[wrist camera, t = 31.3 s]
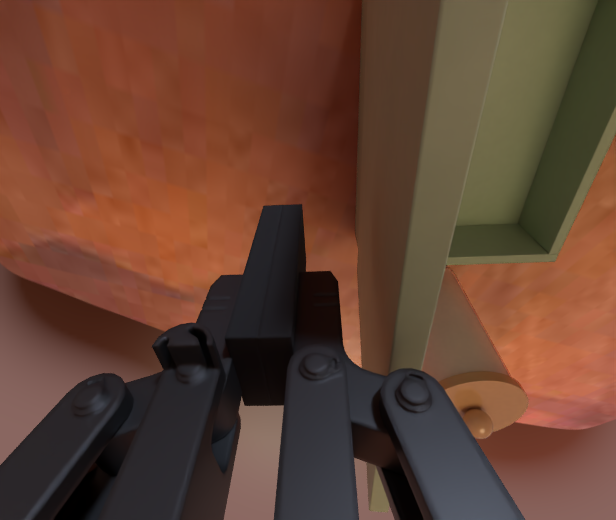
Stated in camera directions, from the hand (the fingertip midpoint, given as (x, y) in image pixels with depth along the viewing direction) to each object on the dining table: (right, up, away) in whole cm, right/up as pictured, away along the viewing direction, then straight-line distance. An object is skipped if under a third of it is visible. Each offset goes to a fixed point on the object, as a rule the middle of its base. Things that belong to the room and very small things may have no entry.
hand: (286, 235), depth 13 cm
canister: (+14, -4, +23) cm, 27 cm away
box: (+13, +10, +13) cm, 20 cm away
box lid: (+4, +1, +1) cm, 5 cm away
